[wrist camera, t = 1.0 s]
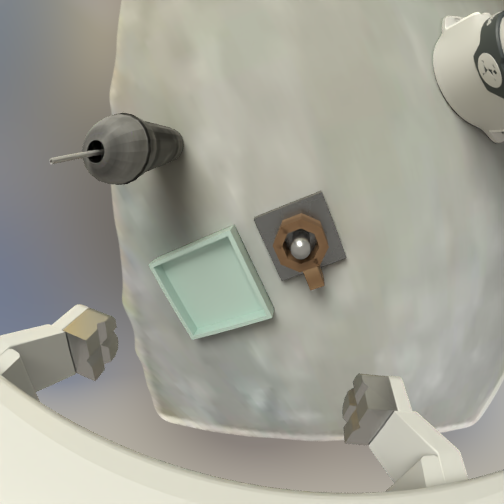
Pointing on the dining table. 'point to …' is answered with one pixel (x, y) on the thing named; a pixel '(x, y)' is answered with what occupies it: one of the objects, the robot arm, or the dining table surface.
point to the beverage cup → (126, 148)
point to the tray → (213, 284)
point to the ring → (313, 261)
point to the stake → (300, 232)
